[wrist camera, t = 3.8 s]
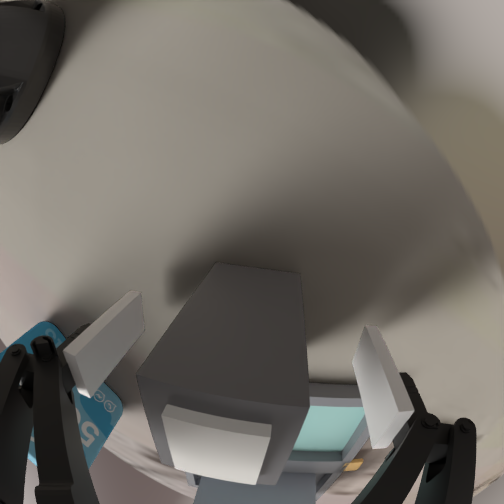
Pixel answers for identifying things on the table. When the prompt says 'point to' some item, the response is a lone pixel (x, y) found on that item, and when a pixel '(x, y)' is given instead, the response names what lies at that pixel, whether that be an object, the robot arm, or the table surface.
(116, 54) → the table surface
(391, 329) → the table surface
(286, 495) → the block
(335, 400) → the grey flat panel
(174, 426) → the plug
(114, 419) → the data package
